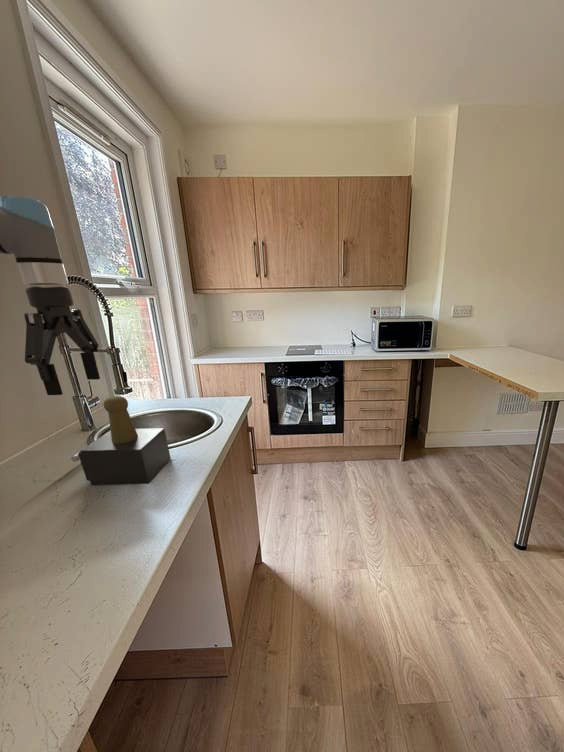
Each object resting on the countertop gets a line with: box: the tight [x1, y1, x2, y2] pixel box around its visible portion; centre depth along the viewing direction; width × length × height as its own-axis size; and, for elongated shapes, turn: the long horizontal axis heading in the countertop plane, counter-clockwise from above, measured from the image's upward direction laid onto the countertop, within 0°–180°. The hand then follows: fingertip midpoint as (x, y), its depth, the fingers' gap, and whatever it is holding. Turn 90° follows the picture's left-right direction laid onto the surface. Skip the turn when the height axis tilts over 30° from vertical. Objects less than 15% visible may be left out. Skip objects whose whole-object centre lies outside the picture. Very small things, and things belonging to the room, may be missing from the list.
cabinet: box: [79, 427, 172, 486], centre depth 91 cm, size 15×14×10 cm
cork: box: [103, 395, 138, 444], centre depth 87 cm, size 6×6×11 cm
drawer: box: [70, 451, 90, 482], centre depth 91 cm, size 18×12×8 cm
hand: (76, 386), depth 80 cm, fingers open, 13 cm apart
